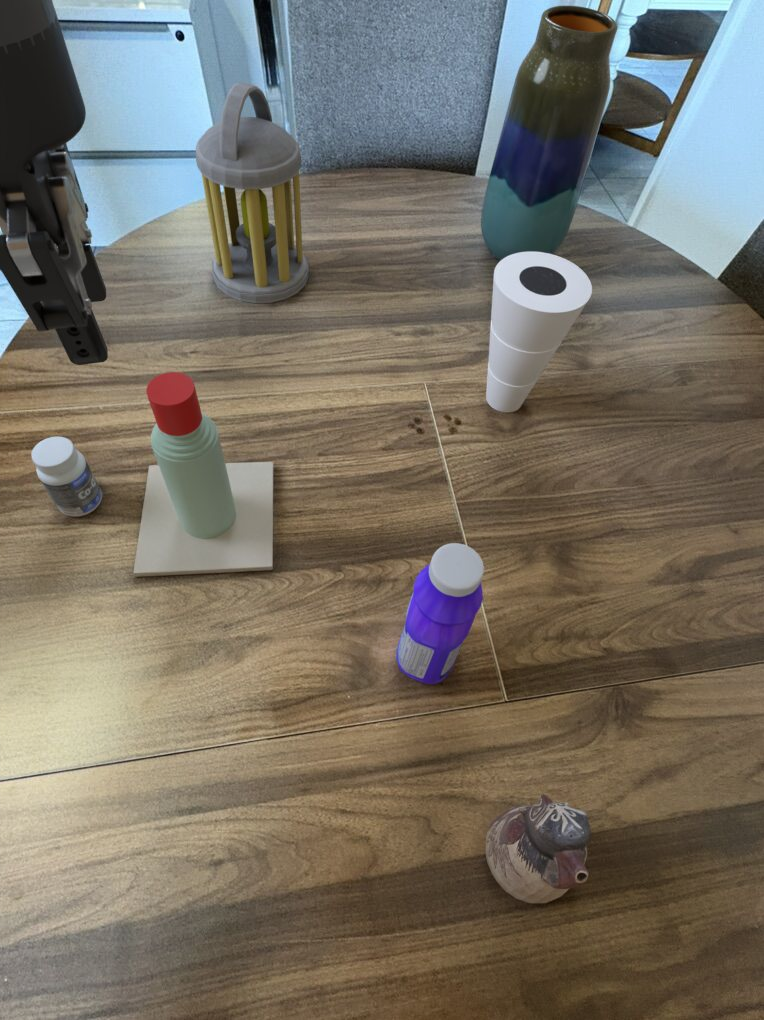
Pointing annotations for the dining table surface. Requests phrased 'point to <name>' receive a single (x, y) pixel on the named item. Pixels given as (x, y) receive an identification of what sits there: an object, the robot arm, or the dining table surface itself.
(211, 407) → the dining table surface
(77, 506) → the pill bottle
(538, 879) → the figurine
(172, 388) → the cap
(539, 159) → the vase
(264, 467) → the coaster
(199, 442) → the water bottle
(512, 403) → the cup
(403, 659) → the bottle
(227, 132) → the lantern
